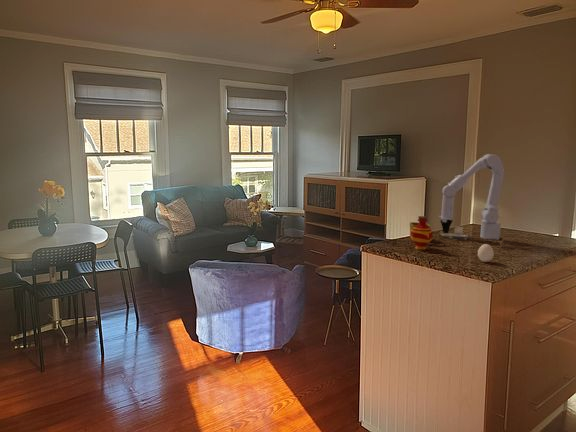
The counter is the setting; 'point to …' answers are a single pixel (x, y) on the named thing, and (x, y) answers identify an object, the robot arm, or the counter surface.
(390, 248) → the counter surface
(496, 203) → the robot arm
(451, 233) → the rod with orange cap
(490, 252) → the egg
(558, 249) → the counter surface
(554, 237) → the counter surface
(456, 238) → the board
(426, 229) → the red and yellow vase
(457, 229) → the beige mushroom
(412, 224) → the flower pot
